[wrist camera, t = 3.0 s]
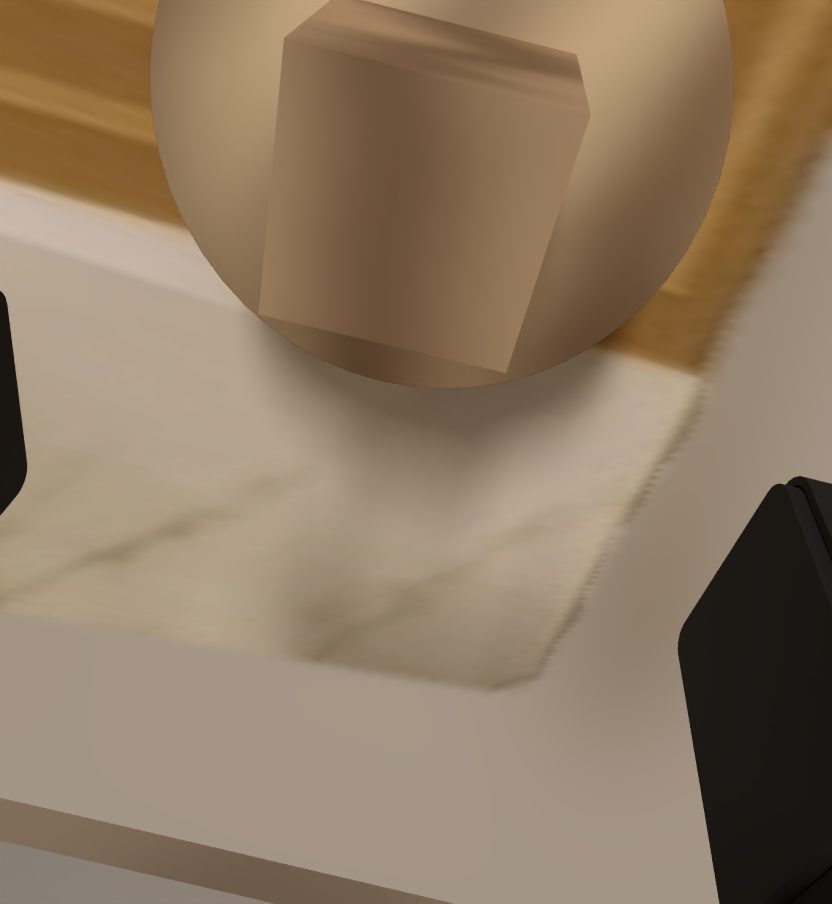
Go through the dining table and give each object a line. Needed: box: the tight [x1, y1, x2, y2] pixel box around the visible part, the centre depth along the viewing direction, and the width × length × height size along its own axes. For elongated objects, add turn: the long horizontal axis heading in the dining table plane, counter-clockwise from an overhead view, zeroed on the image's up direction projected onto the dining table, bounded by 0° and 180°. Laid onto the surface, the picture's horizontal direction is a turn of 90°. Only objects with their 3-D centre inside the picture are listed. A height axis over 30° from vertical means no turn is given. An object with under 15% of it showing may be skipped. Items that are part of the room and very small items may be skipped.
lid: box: [150, 0, 734, 389], centre depth 18 cm, size 14×14×6 cm
